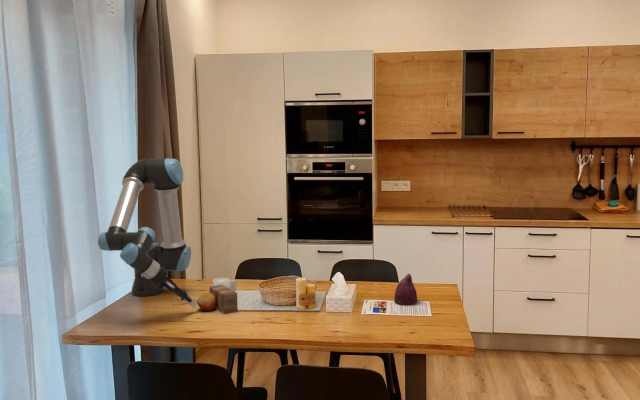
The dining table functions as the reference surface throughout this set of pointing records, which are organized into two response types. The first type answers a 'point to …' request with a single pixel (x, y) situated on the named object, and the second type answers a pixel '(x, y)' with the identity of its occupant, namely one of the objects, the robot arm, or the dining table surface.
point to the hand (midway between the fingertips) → (195, 305)
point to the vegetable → (405, 292)
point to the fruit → (207, 302)
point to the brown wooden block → (224, 298)
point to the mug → (225, 282)
